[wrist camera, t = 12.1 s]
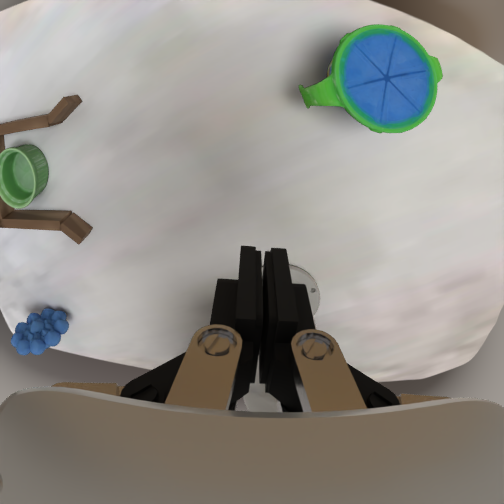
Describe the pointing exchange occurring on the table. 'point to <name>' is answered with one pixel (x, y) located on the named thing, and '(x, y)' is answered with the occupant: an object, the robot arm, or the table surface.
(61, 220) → the walnut holder
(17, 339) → the grapes
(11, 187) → the ramekin
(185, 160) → the table surface
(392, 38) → the snack cup
